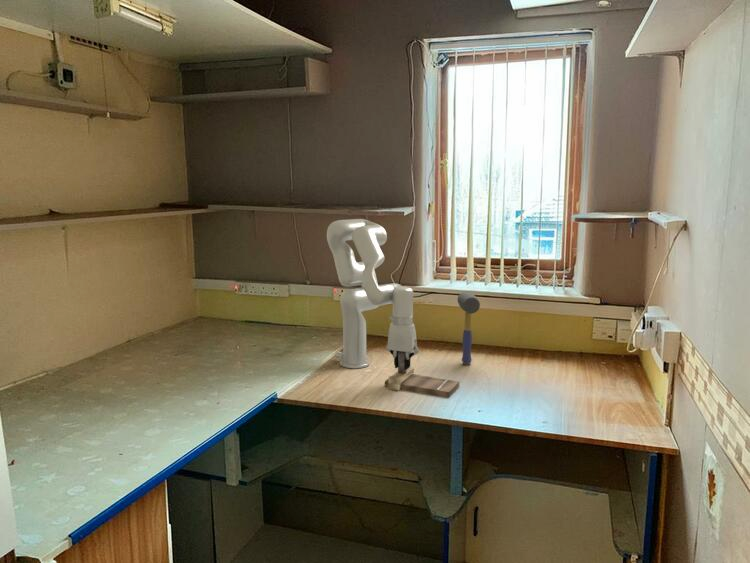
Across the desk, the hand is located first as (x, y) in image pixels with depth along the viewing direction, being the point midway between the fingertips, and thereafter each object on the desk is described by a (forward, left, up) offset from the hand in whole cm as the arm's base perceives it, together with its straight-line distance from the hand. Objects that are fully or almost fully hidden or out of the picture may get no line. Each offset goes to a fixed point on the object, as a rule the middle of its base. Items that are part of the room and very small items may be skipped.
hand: (402, 367), depth 215 cm
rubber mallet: (+16, +33, -6) cm, 37 cm away
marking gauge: (0, 0, -6) cm, 6 cm away
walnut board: (+8, 0, -6) cm, 10 cm away
